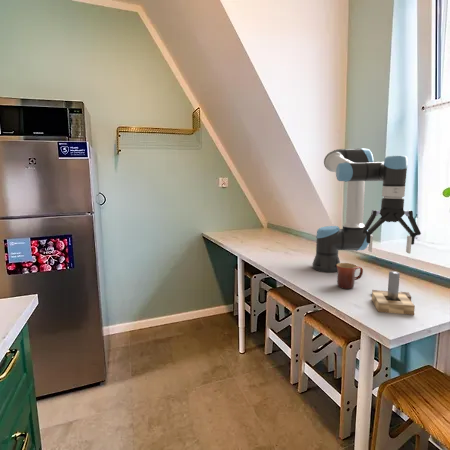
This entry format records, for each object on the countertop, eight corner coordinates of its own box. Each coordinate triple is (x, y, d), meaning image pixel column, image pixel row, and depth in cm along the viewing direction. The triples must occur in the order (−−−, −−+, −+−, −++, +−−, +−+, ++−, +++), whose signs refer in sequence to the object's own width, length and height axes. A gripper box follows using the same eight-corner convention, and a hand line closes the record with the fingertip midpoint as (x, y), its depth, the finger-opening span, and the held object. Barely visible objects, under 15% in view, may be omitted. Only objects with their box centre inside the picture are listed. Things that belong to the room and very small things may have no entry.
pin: (385, 304, 122) (388, 270, 120) (395, 305, 121) (398, 271, 119) (387, 308, 119) (390, 273, 117) (398, 309, 118) (400, 274, 116)
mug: (339, 290, 138) (340, 268, 137) (332, 283, 147) (333, 263, 145) (366, 289, 139) (367, 267, 137) (357, 283, 147) (358, 262, 146)
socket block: (371, 299, 128) (372, 291, 127) (403, 302, 125) (404, 293, 124) (378, 311, 116) (379, 303, 116) (414, 314, 113) (414, 305, 113)
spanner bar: (373, 297, 130) (373, 293, 130) (371, 293, 135) (372, 288, 135) (410, 301, 126) (411, 296, 126) (408, 296, 131) (408, 292, 130)
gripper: (359, 198, 116) (356, 252, 120) (434, 198, 110) (428, 255, 114) (356, 196, 123) (353, 248, 127) (426, 196, 117) (421, 250, 121)
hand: (388, 251), depth 120 cm, fingers open, 13 cm apart
